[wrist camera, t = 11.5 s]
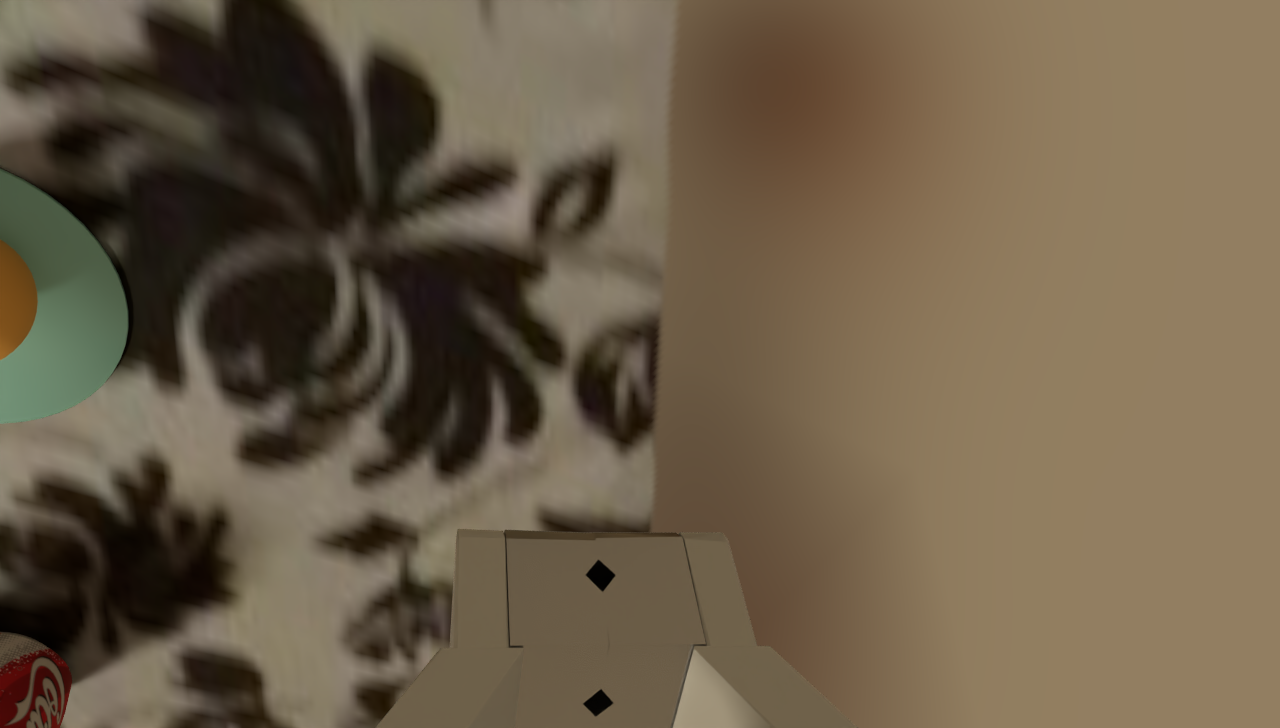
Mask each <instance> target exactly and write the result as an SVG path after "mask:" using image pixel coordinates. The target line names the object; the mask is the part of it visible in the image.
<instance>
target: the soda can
mask: <svg viewBox="0 0 1280 728" xmlns="http://www.w3.org/2000/svg"><path fill="white" fill-rule="evenodd" d="M71 684H72V676H71V672H70V670H69V667H68V666H67V664H66V663H65V661H64V660H63V659H62V658H61V657H60V656H59V655H58V654H57V653H55V652H54V651H53V650H51V649H50V648H48V647H46V646H45V645H44V644H42V643H40V642H39V641H37V640H35V639H32V638H30V637H27V636H24V635H21V634H16V633H11V632H0V728H60V725H61V723H62V720H63V717H64V714H65V710H66V706H67V702H68V697H69V693H70V689H71Z"/></svg>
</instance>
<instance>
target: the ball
mask: <svg viewBox="0 0 1280 728" xmlns="http://www.w3.org/2000/svg"><path fill="white" fill-rule="evenodd" d="M37 305H38V297H37V289H36V285H35V281H34V278H33V276H32V273H31V271H30V270H29V268H28V266H27V264H26V263H25V262H24V260H23V259H22V258H21V256H20V255H19V254H18V253H17V252H16V251H15V250H14V249H13V248H12V247H10V246H9V245H8V244H6V243H5V242H4V241H2V240H1V239H0V360H2V359H3V358H5V357H7V356H8V355H9V354H10V353H12V352H13V351H14V350H15V349H16V348H17V347H18V346H19V345H20V344H21V343H22V342H23V341H24V339H25V338H26V337H27V335H28V334H29V332H30V330H31V328H32V326H33V323H34V321H35V317H36V313H37Z"/></svg>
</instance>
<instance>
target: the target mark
mask: <svg viewBox="0 0 1280 728" xmlns="http://www.w3.org/2000/svg"><path fill="white" fill-rule="evenodd" d="M0 239H1V240H2V241H4V242H5V243H6V244H8V245H9V246H10V247H12V248H13V249H14V250H15V251H16V252H17V253H18V254H19V255H20V256H21V258H22V259H23V260H24V262H25V263H26V264H27V266H28V268H29V270H30V271H31V273H32V276H33V278H34V281H35V285H36V289H37V297H38V305H37V313H36V317H35V321H34V323H33V326H32V328H31V330H30V332H29V334H28V335H27V337H26V338H25V339H24V341H23V342H22V343H21V344H20V345H19V346H18V347H17V348H16V349H15V350H14V351H13V352H12V353H10V354H9V355H8V356H7V357H5V358H3V359H2V360H0V423H14V422H24V421H29V420H34V419H40V418H44V417H47V416H50V415H53V414H57V413H60V412H62V411H64V410H66V409H68V408H71V407H73V406H75V405H77V404H78V403H80V402H82V401H83V400H85V399H86V398H88V397H90V396H91V395H92V394H93V393H94V392H95V391H96V390H98V389H99V388H100V387H101V386H102V385H103V384H104V383H105V382H106V380H107V379H108V378H109V377H110V376H111V374H112V373H113V371H114V369H115V368H116V366H117V364H118V362H119V361H120V359H121V356H122V353H123V351H124V348H125V345H126V341H127V335H128V328H129V314H128V305H127V300H126V295H125V291H124V288H123V285H122V282H121V280H120V277H119V274H118V272H117V271H116V269H115V267H114V265H113V263H112V261H111V259H110V257H109V256H108V254H107V253H106V251H105V250H104V248H103V247H102V246H101V244H100V243H99V241H98V240H97V239H96V238H95V236H94V235H93V234H92V233H91V232H90V231H89V230H88V229H87V227H86V226H85V225H84V224H83V223H82V222H81V221H80V220H79V219H78V218H77V217H75V216H74V215H73V214H72V213H71V212H70V211H69V210H68V209H67V208H66V207H64V206H63V205H62V204H60V203H59V202H58V201H56V200H55V199H54V198H52V197H51V196H50V195H48V194H47V193H45V192H44V191H42V190H40V189H39V188H37V187H35V186H34V185H32V184H30V183H29V182H27V181H25V180H24V179H22V178H20V177H18V176H15V175H13V174H11V173H9V172H7V171H5V170H3V169H1V168H0Z"/></svg>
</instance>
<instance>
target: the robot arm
mask: <svg viewBox="0 0 1280 728" xmlns="http://www.w3.org/2000/svg"><path fill="white" fill-rule="evenodd" d="M376 728H858V727H856V726H855V725H854V724H853V723H852V722H851V721H850V720H849V719H848V718H847V717H845V716H844V715H843V713H841V712H840V711H839V710H838V709H837V708H836V707H835V706H834V705H833V704H832V703H831V702H830V701H829V700H827V699H826V698H825V697H824V696H823V695H822V694H821V693H820V692H819V691H818V690H817V689H815V688H814V687H813V686H812V685H811V684H810V683H809V682H808V681H807V680H806V679H805V678H804V677H803V676H801V674H799V673H798V672H797V671H796V670H795V669H794V668H793V667H792V666H791V665H790V664H789V663H788V662H787V661H785V660H784V659H783V658H782V657H781V656H780V655H779V654H778V653H777V652H776V651H775V650H774V649H772V648H771V647H770V646H757V643H756V640H755V636H754V633H753V629H752V625H751V622H750V618H749V614H748V611H747V607H746V603H745V600H744V596H743V592H742V589H741V585H740V582H739V578H738V574H737V571H736V567H735V564H734V560H733V556H732V552H731V549H730V545H729V542H728V539H727V538H726V536H725V535H724V534H723V533H679V534H677V533H616V532H592V533H577V532H550V531H523V530H505V531H504V533H503V531H494V530H471V529H458V531H457V536H456V551H455V567H454V583H453V599H452V617H451V634H450V648H440V649H439V651H438V652H437V653H436V654H435V655H434V657H433V658H432V659H431V660H430V662H429V663H428V664H427V665H426V667H425V668H424V669H423V670H422V671H421V673H420V674H419V675H418V676H417V678H416V679H415V680H414V681H413V682H412V684H411V685H410V686H409V687H408V689H407V690H406V691H405V692H404V694H403V695H402V696H401V697H400V698H399V700H398V701H397V702H396V703H395V705H394V706H393V707H392V708H391V710H390V711H389V712H388V713H387V714H386V716H385V717H384V718H383V719H382V721H381V722H380V723H379V724H378V725H377V727H376Z"/></svg>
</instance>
